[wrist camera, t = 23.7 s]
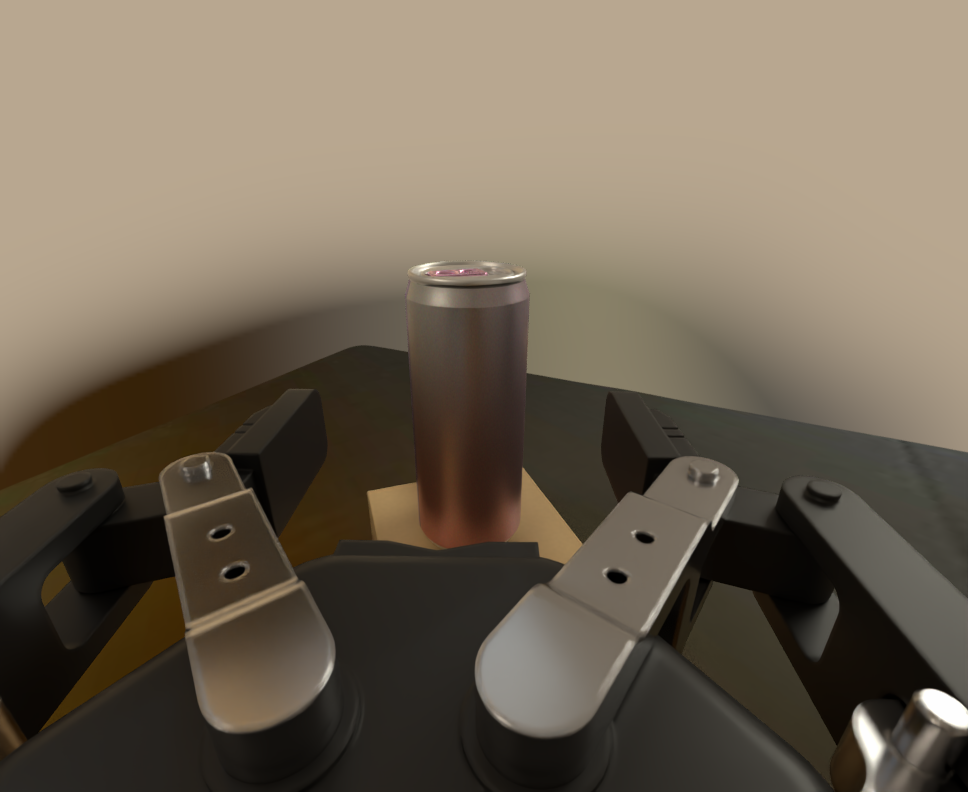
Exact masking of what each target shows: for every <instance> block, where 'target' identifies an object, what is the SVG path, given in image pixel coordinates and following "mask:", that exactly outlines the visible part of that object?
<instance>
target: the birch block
mask: <svg viewBox="0 0 968 792" xmlns="http://www.w3.org/2000/svg"><path fill="white" fill-rule="evenodd" d="M367 496H368V505H369V513H370V522H371V531H372V539H373V540H389V541H393V542H398V543H403V544H408V545H413V546H418V547H423V548H428V549H433V550H442V549H441V548H439V547H437V546H436V545H435V544H434V543H432V542H431V541H430V540H429V538H428V537H427V536H426V535H425V534H424V532H423V531H422V529H421V527H420V523H419V511H418V495H417V482H415V483H410V484H404V485H399V486H394V487H388V488H383V489H378V490H372V491H368V492H367ZM507 542H538V547H539V555H540V557H543V558H548V559H551V560H554V561H557V562H560V563H563V564H566V563H567V562H568V561H569V560H570V558H571V557H572V556H573V555H574V554H575V553H576V552H577V550H578V549H579V548H580V547H581V546H582V545H583V544H582V543H581V542H580V540H579V539H578V538H577V537H576V535H575V534H574V533H573V531H572V530H571V529H570V528H569V526H568V525H567V524H566V522H565V521H564V520H563V519H562V517H561V516H560V515H559V513H558V512H557V511H556V509H555V508H554V507H553V506H552V504H551V503H550V502H549V500H548V499H547V498H546V497H545V495H544V494H543V493H542V491H541V490H540V489H539V488H538V486H537V485H536V484H535V482H534V481H533V480H532V479H531V477H530V476H529V475H528V473H527V472H526V471H525V470H524V468H523V467H522V491H521V515H520V523H519V526H518V528H517V530H516V532H515V533H514V534H513V535H512V537H511V538H510V539H509V540H508V541H507Z"/></svg>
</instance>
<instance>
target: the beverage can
mask: <svg viewBox="0 0 968 792" xmlns="http://www.w3.org/2000/svg"><path fill="white" fill-rule="evenodd" d="M408 277H409V282H408V286H407V289H406V293H405V303H406V320H407V336H408V352H409V368H410V384H411V400H412V416H413V432H414V447H415V463H416V479H417V495H418V511H419V523H420V527H421V529H422V531H423V532H424V534H425V535H426V536H427V537H428V538H429V540H430V541H431V542H432V543H434V544H435V545H436V546H437V547H439V548H441V549H448V548H454V547H460V546H466V545H472V544H478V543H483V542H507V541H508V540H509V539H510V538H511V537H512V535H513V534H514V533H515V532H516V530H517V528H518V526H519V523H520V515H521V491H522V467H523V442H524V418H525V394H526V370H527V345H528V322H529V297H530V295H529V291H528V287H527V284H526V280H525V277H526V270H525V269H524V268H523V267H521V266H518V265H514V264H509V263H501V262H491V261H445V262H434V263H426V264H421V265H417V266H414V267H412V268H410V269H409V270H408Z"/></svg>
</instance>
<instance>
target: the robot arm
mask: <svg viewBox="0 0 968 792" xmlns="http://www.w3.org/2000/svg"><path fill="white" fill-rule="evenodd" d="M326 454H327V436H326V429H325V423H324V416H323V409H322V403H321V397H320V394H319V392H318V391H317V390H316V389H288V390H287V391H286V392H285V393H284V394H283V395H282V396H281V397H280V398H279V399H278V400H277V401H276V402H275V403H274V404H273V405H272V406H268V407H266V408H264V409H262V410H260V411H258V412H256V413H254V414H253V415H252V416H251V417H249V418H248V419H247V420H246V421H245V422H244V423H243V426H240V427H239V428H238V429H237V430H236V431H235V434H232V435H231V436H230V437H229V438H228V439H227V440H226V441H225V442H224V443H223V444H222V445H221V446H220V447H219V448H218V449H216V450H215V451H214V452H208V453H200V454H195V455H191V456H188V457H185V458H182V459H180V460H177V461H175V462H173V463H172V464H170V465H169V466H167V467H166V468H165V469H164V470H162V472H161V473H160V475H159V482H155V483H149V484H143V485H137V486H131V487H125V488H122V486H121V483H120V480H119V477H118V475H117V473H116V472H115V471H114V470H111V469H105V468H97V469H88V470H83V471H78V472H74V473H71V474H68V475H65V476H63V477H60V478H58V479H55V480H53V481H51V482H49V483H48V484H46V485H44V486H43V487H41V488H40V489H39V490H37V491H36V492H34V493H33V494H32V495H30V496H29V497H28V498H26V499H25V500H24V501H22V502H21V503H19V504H18V505H17V506H15V507H14V508H13V509H11V510H10V511H8V512H7V513H6V514H4V515H3V516H2V517H0V792H834V790H835V792H968V599H967V598H966V597H965V596H964V595H963V594H962V593H961V592H960V591H959V590H958V589H957V588H956V587H955V586H953V585H952V584H951V583H950V582H949V581H948V580H947V579H946V578H945V577H944V576H943V575H942V574H941V573H940V572H939V571H938V570H937V569H935V568H934V567H933V566H932V565H931V564H930V563H929V562H928V561H927V560H926V559H925V558H924V557H923V556H922V555H921V554H920V553H918V552H917V551H916V550H915V549H914V548H913V547H912V546H911V545H910V544H909V543H908V542H907V541H906V540H905V539H904V538H903V537H902V536H900V535H899V534H898V533H897V532H896V531H895V530H894V529H893V528H892V527H891V526H890V525H889V524H888V523H887V522H886V521H885V520H883V519H882V518H881V517H880V516H879V515H878V514H877V513H876V512H875V511H874V510H873V509H872V508H871V507H870V506H869V505H868V504H866V503H865V502H864V501H863V500H862V499H861V498H860V497H859V496H858V495H857V494H855V493H854V492H853V491H851V490H850V489H848V488H846V487H844V486H842V485H840V484H838V483H835V482H832V481H830V480H826V479H823V478H819V477H813V476H792V477H789V478H787V479H785V480H784V481H783V483H782V487H781V490H780V493H779V494H776V493H771V492H765V491H760V490H755V489H750V488H745V487H742V486H738V482H739V481H738V477H737V475H736V474H735V472H733V471H732V470H731V469H730V468H729V467H727V466H725V465H724V464H722V463H719V462H717V461H714V460H711V459H708V458H703V457H700V456H699V454H698V453H697V452H696V450H695V449H694V448H693V446H692V445H691V444H690V442H689V441H688V440H687V438H684V435H683V433H682V432H681V431H680V430H678V427H677V425H676V424H675V423H674V421H673V420H672V419H671V418H670V417H669V416H667V415H666V414H664V413H662V412H661V411H659V410H657V409H649V408H648V407H647V405H646V404H645V402H644V401H643V399H642V398H641V397H640V395H639V394H638V392H609V393H608V395H607V399H606V407H605V416H604V425H603V434H602V443H601V454H602V462H603V465H604V468H605V470H606V473H607V476H608V478H609V481H610V483H611V486H612V488H613V491H614V494H615V496H616V499H617V501H618V505H617V506H616V507H615V508H614V509H613V510H612V511H611V513H610V514H609V515H608V516H607V517H606V518H605V519H604V521H603V522H602V523H601V524H600V525H599V526H598V527H597V529H596V530H595V531H594V532H593V533H592V534H591V536H590V537H589V538H588V539H587V540H586V541H585V542H584V544H583V545H582V546H581V547H580V548H579V549H578V550H577V552H576V553H575V554H574V555H573V556H572V557H571V558H570V560H569V561H568V562H567V563H566V564H563V563H560V562H557V561H554V560H551V559H548V558H543V557H540V555H539V547H538V542H483V543H478V544H472V545H466V546H460V547H454V548H448V549H442V550H433V549H428V548H423V547H418V546H413V545H408V544H403V543H398V542H393V541H389V540H340V541H339V543H338V545H337V548H336V550H335V552H334V555H329V556H325V557H321V558H317V559H314V560H311V561H308V562H305V563H303V564H301V565H298V566H296V567H294V568H292V566H291V564H290V562H289V560H288V558H287V556H286V554H285V552H284V550H283V548H282V546H281V544H280V542H279V540H278V538H279V536H280V534H281V533H282V531H283V529H284V528H285V526H286V524H287V523H288V521H289V519H290V518H291V516H292V514H293V513H294V511H295V509H296V508H297V506H298V504H299V503H300V501H301V499H302V498H303V496H304V494H305V493H306V491H307V489H308V488H309V486H310V484H311V483H312V481H313V479H314V478H315V476H316V474H317V473H318V471H319V469H320V468H321V466H322V464H323V463H324V461H325V458H326ZM61 561H62V562H63V564H64V566H65V568H66V570H67V573H68V575H69V577H70V579H71V581H70V582H69V583H68V584H67V585H66V586H65V587H64V588H63V589H62V590H61V591H60V592H59V593H58V594H57V595H56V596H55V597H54V598H53V599H52V600H51V601H50V602H49V603H48V604H47V605H46V606H45V607H44V605H43V603H42V600H41V589H42V586H43V583H44V581H45V579H46V577H47V576H48V574H49V573H50V572H51V571H52V570H53V569H54V568H55V567H56V566H57V565H58V564H59V563H60V562H61ZM174 576H176V581H177V586H178V591H179V596H180V601H181V606H182V611H183V616H184V621H185V626H186V631H185V637H184V638H183V639H181V640H180V641H178V642H176V643H175V644H173V645H172V646H170V647H169V648H167V649H166V650H164V651H163V652H161V653H160V654H158V655H157V656H155V657H154V658H152V659H151V660H149V661H148V662H146V663H144V664H143V665H141V666H140V667H138V668H137V669H135V670H134V671H132V672H131V673H129V674H128V675H126V676H125V677H123V678H122V679H120V680H118V681H117V682H115V683H114V684H112V685H111V686H109V687H108V688H106V689H105V690H103V691H102V692H100V693H99V694H97V695H96V696H94V697H92V698H91V699H89V700H88V701H86V702H85V703H83V704H82V705H80V706H79V707H77V708H76V709H74V710H73V711H71V712H70V713H68V714H67V715H65V716H63V717H62V718H60V719H59V720H57V721H56V722H54V723H53V724H51V725H50V726H48V727H47V728H45V729H44V730H42V731H41V732H39V731H40V730H41V728H42V727H43V726H44V725H45V723H46V722H47V721H48V719H49V718H50V717H51V715H52V714H53V713H54V711H55V710H56V709H57V708H58V706H59V705H60V704H61V702H62V701H63V700H64V698H65V697H66V696H67V695H68V693H69V692H70V691H71V689H72V688H73V687H74V685H75V684H76V683H77V681H78V680H79V679H80V678H81V676H82V675H83V674H84V672H85V671H86V670H87V668H88V667H89V666H90V665H91V663H92V662H93V661H94V659H95V658H96V657H97V655H98V654H99V653H100V651H101V650H102V649H103V648H104V646H105V645H106V644H107V642H108V641H109V640H110V638H111V637H112V636H113V635H114V633H115V632H116V631H117V629H118V628H119V627H120V625H121V624H122V623H123V621H124V620H125V619H126V618H127V616H128V615H129V614H130V612H131V611H132V610H133V608H134V607H135V606H136V604H137V603H138V602H139V601H140V599H141V598H142V597H143V595H144V594H145V593H146V591H147V590H148V589H149V588H150V586H151V584H152V582H153V581H155V580H160V579H164V578H169V577H174ZM713 581H715V582H720V583H724V584H728V585H732V586H736V587H740V588H744V589H748V590H752V591H753V594H754V597H755V598H756V600H757V602H758V604H759V606H760V607H761V609H762V611H763V613H764V615H765V616H766V618H767V620H768V622H769V624H770V625H771V627H772V629H773V631H774V633H775V635H776V636H777V638H778V640H779V642H780V644H781V645H782V647H783V649H784V651H785V653H786V654H787V656H788V658H789V660H790V662H791V663H792V665H793V667H794V669H795V671H796V672H797V674H798V676H799V678H800V680H801V682H802V683H803V685H804V687H805V689H806V691H807V692H808V694H809V696H810V698H811V700H812V701H813V703H814V705H815V707H816V709H817V710H818V712H819V714H820V716H821V718H822V719H823V721H824V723H825V725H826V727H827V729H828V730H829V732H830V734H831V736H832V738H833V739H834V741H835V743H836V745H837V748H836V750H835V752H834V754H833V756H832V758H831V762H830V777H831V782H832V785H833V787H834V790H833V789H832V788H831V787H830V785H829V784H828V783H827V781H826V780H825V779H824V778H823V777H822V776H821V775H820V774H819V772H818V771H817V770H816V769H815V768H814V767H813V766H812V765H811V764H810V763H809V762H808V761H807V760H806V759H805V758H804V757H803V756H802V755H801V754H800V753H798V752H797V751H796V750H795V749H794V748H793V747H792V746H791V745H789V744H788V743H787V742H786V741H785V740H783V739H782V738H781V737H780V736H779V735H777V734H776V733H775V732H774V731H773V730H771V729H770V728H769V727H768V726H767V725H765V724H764V723H763V722H762V721H761V720H759V719H758V718H757V717H756V716H755V715H753V714H752V713H751V712H750V711H749V710H747V709H746V708H745V707H744V706H743V705H741V704H740V703H739V702H738V701H737V700H735V699H734V698H733V697H732V696H731V695H729V694H728V693H727V692H726V691H725V690H723V689H722V688H721V687H720V686H719V685H717V684H716V683H715V682H714V681H713V680H711V679H710V678H709V677H708V676H707V675H705V674H704V673H703V672H702V671H701V670H699V669H698V668H697V667H696V666H695V665H693V664H692V663H691V662H690V661H689V660H687V659H686V658H685V657H684V656H683V655H682V652H683V649H684V647H685V644H686V641H687V639H688V637H689V635H690V632H691V630H692V628H693V626H694V624H695V622H696V619H697V617H698V615H699V613H700V611H701V609H702V607H703V604H704V602H705V600H706V598H707V596H708V594H709V591H710V589H711V587H712V584H713ZM834 587H835V589H836V592H837V595H838V598H837V596H836V595H835V594H834V592H833V590H834ZM38 732H39V733H38Z"/></svg>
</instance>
